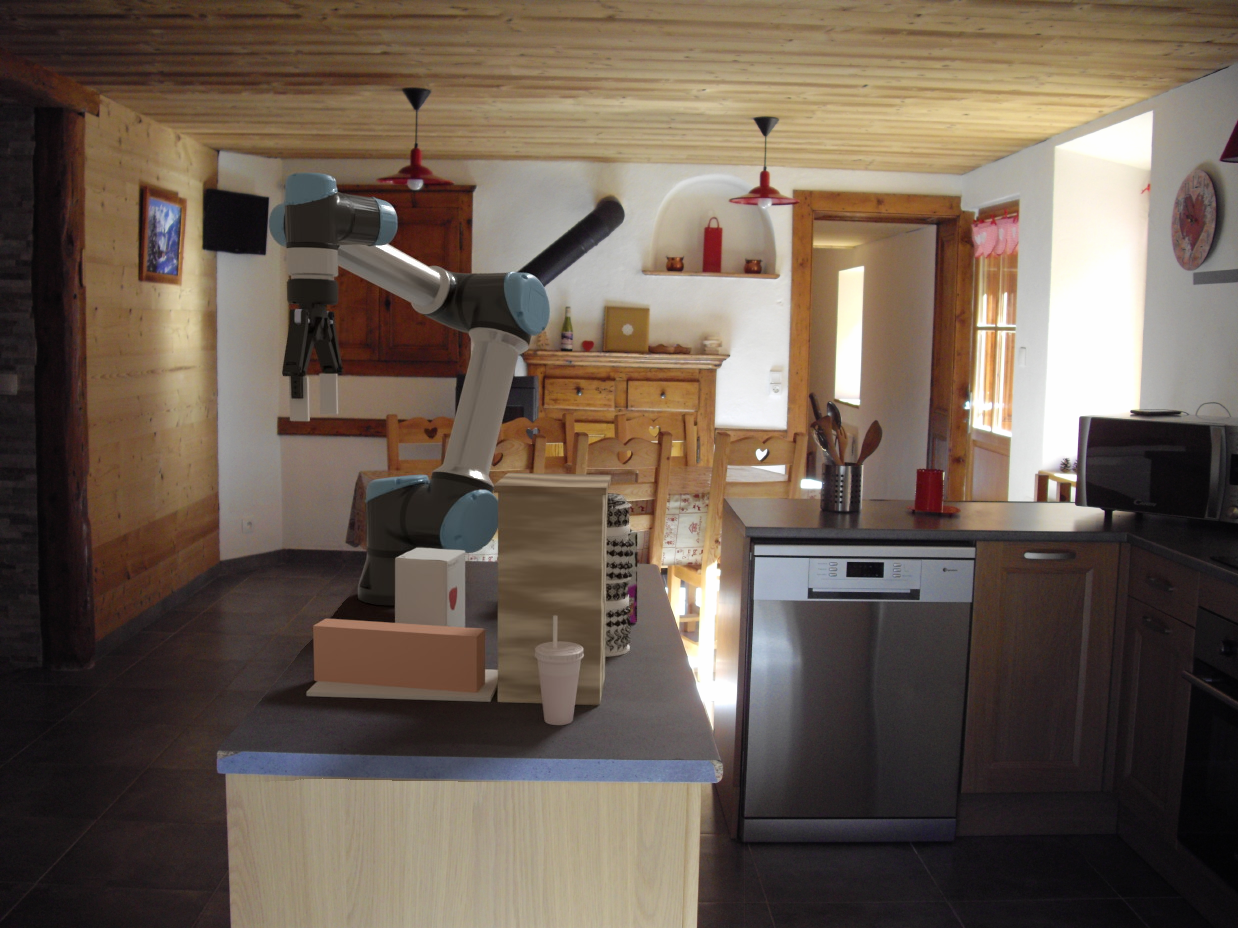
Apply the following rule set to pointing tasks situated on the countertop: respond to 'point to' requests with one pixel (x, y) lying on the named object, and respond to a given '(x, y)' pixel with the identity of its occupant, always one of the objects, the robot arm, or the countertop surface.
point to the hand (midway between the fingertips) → (315, 417)
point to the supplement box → (430, 587)
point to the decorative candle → (617, 576)
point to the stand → (551, 578)
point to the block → (399, 655)
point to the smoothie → (558, 677)
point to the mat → (404, 691)
